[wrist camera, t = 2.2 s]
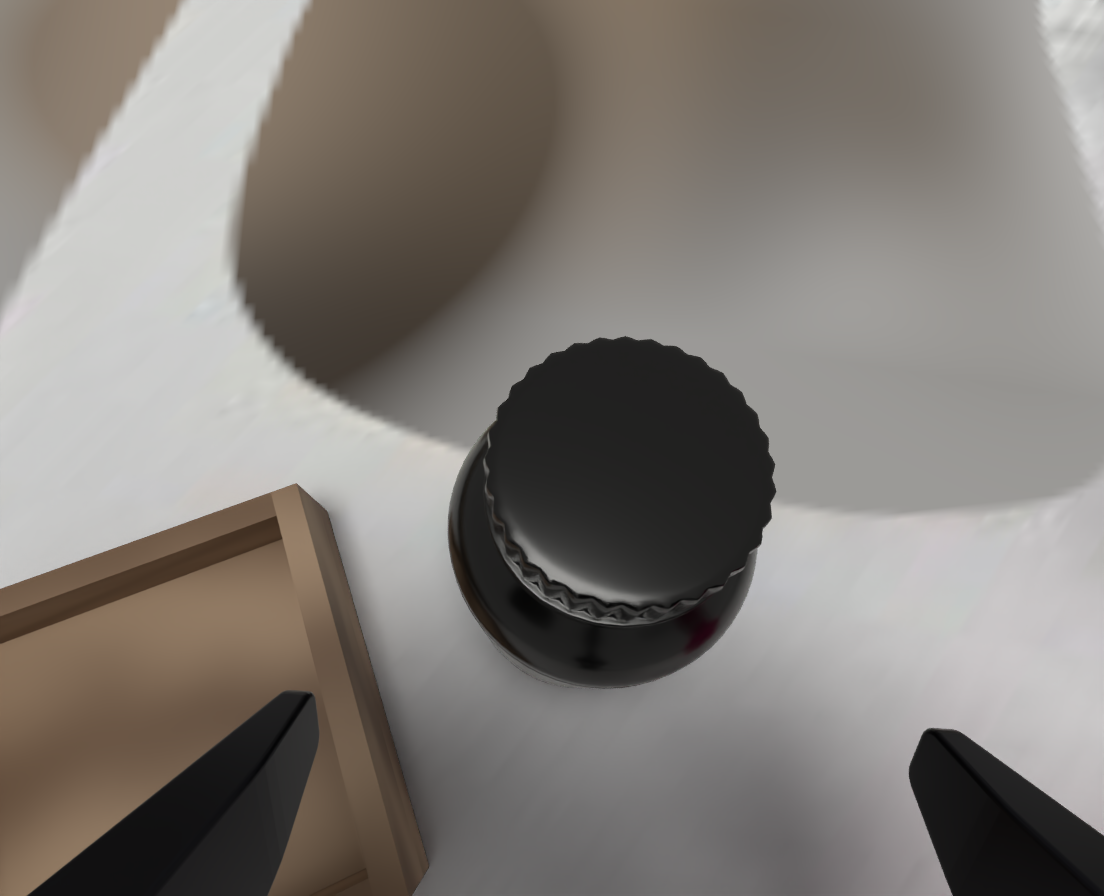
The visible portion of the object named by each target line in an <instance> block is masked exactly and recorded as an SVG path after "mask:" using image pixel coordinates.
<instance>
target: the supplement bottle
mask: <svg viewBox="0 0 1104 896" xmlns="http://www.w3.org/2000/svg"><path fill="white" fill-rule="evenodd" d="M768 448H769V439H768V437H767V435H766V434H765V433H764V432H763V431H762V429H761V428H760V426H759V419H758V415H757V413H756V412H755V411H754V410H753V409H752V408H750V407H749V406H748V405H747V404H746V401H745V398H744V396H743V393H742V392H741V391H740V390H738V389H737V388H735V387H733V386H732V385H730V383H729V382H728V380H727V378H726V377H725V375H724V374H723V373H722V372H720V371H718V370H715V369H712V368H710V367H709V366H708V365H707V363H706V362H705V361H704V360H703V359H702V358H700V357H697V356H692V355H688V354H686V353H685V352H684V351H683V350H681V349H680V348H678V347H676V346H663V345H661V344H660V343H658V342H656V341H654V340H652V339H649V340H639V341H638V340H635V339H632V338H630V337H626V336H625V337H620V338H617V339H614V340H611V339H606V338H598V339H595V340H593V341H591V342H590V343H574V344H573V345H572V346H570V347H569V348H568V349H566V350H565V351H562V352H556V353H551V354H550V355H549V356H548V357H547V358H546V360H545V361H544V362H543V363H542V364H539V365H536V366H533V367H531V368H529V370H528V372H527V374H526V376H525V378H524V379H523V380H521V381H520V382H517V383H516V384H514V385H513V386H512V387H511V390H510V393H509V398H508V399H507V400H506V401H505V402H503V403H502V404H501V405H500V406H499V407H498V409H497V415H496V421H494V422H493V423H492V424H491V425H490V426H489V427H488V428H487V430H485V432H484V433H483V434H482V435H481V436H480V437H479V439H478V440H477V442H476V443H475V444H474V446H473V447H472V448H471V450H470V452H469V454H468V455H467V457H466V459H465V460H464V463H463V465H462V467H461V469H460V471H459V474H458V476H457V479H456V482H455V485H454V488H453V492H452V496H451V500H450V506H449V514H448V543H449V551H450V557H451V562H452V567H453V570H454V574H455V577H456V581H457V583H458V586H459V588H460V591H461V593H462V596H463V598H464V600H465V602H466V604H467V606H468V607H469V609H470V611H471V613H472V614H473V616H474V617H475V619H476V620H477V622H478V623H479V625H480V626H481V628H482V629H483V630H484V632H485V633H486V635H487V636H488V637H489V639H490V640H491V641H492V643H493V644H494V645H495V647H496V648H497V649H498V650H499V651H500V653H501V654H502V655H503V656H504V657H505V658H506V659H507V660H508V661H510V662H511V663H512V664H513V665H514V666H516V667H517V668H518V669H520V670H522V671H523V672H525V673H526V674H528V675H530V676H532V677H534V678H536V679H538V680H541V681H543V682H546V683H549V684H553V685H556V686H562V687H568V688H598V689H605V688H622V687H629V686H635V685H640V684H644V683H647V682H651V681H654V680H657V679H660V678H662V677H665V676H667V675H670V674H672V673H674V672H676V671H678V670H680V669H682V668H684V667H686V666H687V665H689V664H690V663H692V662H693V661H695V660H696V659H698V658H699V657H700V656H702V655H703V654H704V653H705V652H706V651H708V650H709V649H710V648H711V647H712V646H713V645H714V644H715V643H716V642H717V641H718V640H719V639H720V638H721V637H722V636H723V634H724V633H725V632H726V630H727V629H728V628H729V627H730V625H731V624H732V622H733V621H734V619H735V617H736V616H737V614H738V613H739V611H740V609H741V607H742V605H743V602H744V600H745V598H746V596H747V594H748V591H749V588H750V585H751V582H752V578H753V574H754V570H755V565H756V557H757V548H758V547H759V546H760V545H761V542H762V531H763V528H764V527H766V525H767V524H768V523H769V522H770V520H771V519H772V515H771V505H770V503H771V501H772V499H773V498H774V496H775V493H776V488H775V484H774V483H773V479H772V475H773V472H774V468H775V463H774V461H773V459H772V457H771V456H770V454H769V452H768Z"/></svg>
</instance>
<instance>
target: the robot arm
mask: <svg viewBox="0 0 1104 896" xmlns="http://www.w3.org/2000/svg"><path fill="white" fill-rule="evenodd" d="M319 734H320V733H319V723H318V715H317V707H316V699H315V696H314V694H313V693H312V692H310V691H300V690H286V691H283V692H281V693H280V694H278V695H277V696H276V697H275V698H273V699H272V700H271V701H270V702H268V703H267V704H266V705H265V706H263V707H262V708H261V709H260V710H258V711H257V712H256V713H255V714H253V715H252V716H251V717H250V718H248V719H247V720H246V721H245V722H243V723H242V724H241V725H240V726H238V727H237V728H236V729H235V730H233V731H232V732H231V733H230V734H228V735H227V736H226V737H225V738H223V739H222V740H221V741H220V742H218V743H217V744H216V745H215V746H213V747H212V748H211V749H210V750H208V751H207V752H206V753H205V754H203V755H202V756H201V757H200V758H198V759H197V760H196V761H195V762H193V763H192V764H191V765H190V766H188V767H187V768H186V769H184V770H183V771H182V772H181V773H179V774H178V775H177V776H176V777H174V778H173V779H172V780H171V781H169V782H168V783H167V784H166V785H164V786H163V787H162V788H161V789H159V790H158V791H157V792H156V793H154V794H153V795H152V796H151V797H149V798H148V799H147V800H146V801H144V802H143V803H142V804H141V805H139V806H138V807H137V808H136V809H134V810H133V811H132V812H131V813H129V814H128V815H127V816H126V817H124V818H123V819H122V820H121V821H119V822H118V823H117V824H116V825H114V826H113V827H112V828H111V829H109V830H108V831H107V832H106V833H104V834H103V835H102V836H101V837H99V838H98V839H97V840H96V841H94V842H93V843H92V844H91V845H89V846H88V847H87V848H86V849H84V850H83V851H82V852H81V853H79V854H78V855H77V856H76V857H74V858H73V859H72V860H71V861H69V862H68V863H67V864H66V865H64V866H63V867H62V868H61V869H59V870H58V871H57V872H56V873H54V874H53V875H52V876H51V877H49V878H48V879H47V880H46V881H44V882H43V883H42V884H40V885H39V886H38V887H37V888H35V889H34V890H33V891H32V892H30V893H29V894H28V895H27V896H268V894H269V891H270V889H271V886H272V884H273V882H274V879H275V877H276V874H277V872H278V869H279V867H280V864H281V862H282V859H283V856H284V853H285V850H286V847H287V844H288V841H289V838H290V834H291V831H292V828H293V825H294V822H295V819H296V815H297V812H298V809H299V806H300V803H301V799H302V796H303V793H304V790H305V787H306V784H307V780H308V777H309V774H310V771H311V768H312V765H313V761H314V758H315V755H316V752H317V748H318V744H319ZM909 779H910V784H911V787H912V790H913V792H914V795H915V798H916V800H917V803H918V806H919V808H920V811H921V814H922V816H923V819H924V822H925V824H926V827H927V830H928V832H929V835H930V838H931V840H932V843H933V846H934V848H935V851H936V854H937V856H938V859H939V862H940V864H941V867H942V870H943V872H944V875H945V878H946V880H947V883H948V885H949V888H950V890H951V893H952V895H953V896H1104V835H1102V834H1101V833H1099V832H1098V831H1097V830H1095V829H1094V828H1093V827H1091V826H1090V825H1088V824H1087V823H1086V822H1084V821H1083V820H1081V819H1080V818H1079V817H1077V816H1076V815H1075V814H1073V813H1072V812H1070V811H1069V810H1068V809H1066V808H1065V807H1063V806H1062V805H1061V804H1059V803H1058V802H1057V801H1055V800H1054V799H1052V798H1051V797H1050V796H1048V795H1047V794H1046V793H1044V792H1043V791H1041V790H1040V789H1039V788H1037V787H1036V786H1034V785H1033V784H1032V783H1030V782H1029V781H1028V780H1026V779H1025V778H1023V777H1022V776H1021V775H1019V774H1018V773H1017V772H1015V771H1014V770H1012V769H1011V768H1010V767H1008V766H1007V765H1005V764H1004V763H1003V762H1001V761H1000V760H999V759H997V758H996V757H994V756H993V755H992V754H990V753H989V752H988V751H986V750H985V749H983V748H982V747H981V746H979V745H978V744H976V743H975V742H974V741H972V740H971V739H970V738H968V737H967V736H965V735H964V734H962V733H961V732H959V731H957V730H953V729H940V728H929V729H927V730H926V731H924V732H923V734H922V736H921V739H920V741H919V744H918V746H917V748H916V751H915V753H914V756H913V758H912V761H911V763H910V766H909Z"/></svg>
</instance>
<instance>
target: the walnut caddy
mask: <svg viewBox="0 0 1104 896" xmlns="http://www.w3.org/2000/svg"><path fill="white" fill-rule="evenodd" d="M286 690H300V691H310V692H312V693H313V694H314V696H315V699H316V707H317V715H318V723H319V733H320V734H319V744H318V748H317V752H316V755H315V758H314V761H313V765H312V768H311V771H310V774H309V777H308V780H307V784H306V787H305V790H304V793H303V796H302V799H301V803H300V806H299V809H298V812H297V815H296V819H295V822H294V825H293V828H292V831H291V834H290V838H289V841H288V844H287V847H286V850H285V853H284V856H283V859H282V862H281V864H280V867H279V869H278V872H277V874H276V877H275V879H274V882H273V884H272V886H271V889H270V891H269V894H268V896H412V894H413V893H414V891H415V889H416V888H417V886H418V884H419V883H420V881H421V879H422V878H423V876H424V874H425V873H426V871H427V869H428V868H429V864H428V861H427V857H426V854H425V850H424V847H423V843H422V840H421V836H420V833H419V829H418V826H417V822H416V819H415V815H414V812H413V808H412V805H411V802H410V798H409V795H408V791H407V788H406V784H405V781H404V777H403V774H402V770H401V767H400V763H399V760H398V756H397V753H396V749H395V746H394V742H393V739H392V735H391V732H390V728H389V725H388V721H387V718H386V714H385V711H384V708H383V704H382V701H381V697H380V694H379V690H378V687H377V683H376V680H375V676H374V673H373V669H372V666H371V662H370V659H369V655H368V652H367V648H366V645H365V641H364V638H363V634H362V631H361V627H360V624H359V620H358V617H357V614H356V610H355V607H354V603H353V600H352V596H351V593H350V589H349V586H348V582H347V579H346V575H345V572H344V568H343V565H342V561H341V558H340V554H339V551H338V547H337V544H336V540H335V537H334V533H333V530H332V526H331V523H330V520H329V516H328V513H327V511H326V510H325V509H324V508H323V507H322V506H321V505H320V504H319V503H318V502H317V501H315V500H314V499H313V498H312V497H311V496H310V495H309V494H308V493H307V492H306V491H304V490H303V489H302V488H301V487H300V486H299V485H298V484H297V483H296V484H293V485H290V486H287V487H285V488H282V489H279V490H276V491H273V492H271V493H268V494H265V495H262V496H259V497H257V498H254V499H251V500H248V501H245V502H243V503H240V504H237V505H234V506H231V507H229V508H226V509H223V510H220V511H217V512H215V513H212V514H209V515H206V516H203V517H201V518H198V519H195V520H192V521H189V522H187V523H184V524H181V525H178V526H175V527H173V528H170V529H167V530H164V531H161V532H159V533H156V534H153V535H150V536H147V537H145V538H142V539H139V540H136V541H133V542H131V543H128V544H125V545H122V546H119V547H117V548H114V549H111V550H108V551H105V552H103V553H100V554H97V555H94V556H91V557H89V558H86V559H83V560H80V561H77V562H75V563H72V564H69V565H66V566H63V567H61V568H58V569H55V570H52V571H49V572H47V573H44V574H41V575H38V576H35V577H33V578H30V579H27V580H24V581H21V582H19V583H16V584H13V585H10V586H7V587H5V588H2V589H0V896H27V895H28V894H29V893H30V892H32V891H33V890H34V889H35V888H37V887H38V886H39V885H40V884H42V883H43V882H44V881H46V880H47V879H48V878H49V877H51V876H52V875H53V874H54V873H56V872H57V871H58V870H59V869H61V868H62V867H63V866H64V865H66V864H67V863H68V862H69V861H71V860H72V859H73V858H74V857H76V856H77V855H78V854H79V853H81V852H82V851H83V850H84V849H86V848H87V847H88V846H89V845H91V844H92V843H93V842H94V841H96V840H97V839H98V838H99V837H101V836H102V835H103V834H104V833H106V832H107V831H108V830H109V829H111V828H112V827H113V826H114V825H116V824H117V823H118V822H119V821H121V820H122V819H123V818H124V817H126V816H127V815H128V814H129V813H131V812H132V811H133V810H134V809H136V808H137V807H138V806H139V805H141V804H142V803H143V802H144V801H146V800H147V799H148V798H149V797H151V796H152V795H153V794H154V793H156V792H157V791H158V790H159V789H161V788H162V787H163V786H164V785H166V784H167V783H168V782H169V781H171V780H172V779H173V778H174V777H176V776H177V775H178V774H179V773H181V772H182V771H183V770H184V769H186V768H187V767H188V766H190V765H191V764H192V763H193V762H195V761H196V760H197V759H198V758H200V757H201V756H202V755H203V754H205V753H206V752H207V751H208V750H210V749H211V748H212V747H213V746H215V745H216V744H217V743H218V742H220V741H221V740H222V739H223V738H225V737H226V736H227V735H228V734H230V733H231V732H232V731H233V730H235V729H236V728H237V727H238V726H240V725H241V724H242V723H243V722H245V721H246V720H247V719H248V718H250V717H251V716H252V715H253V714H255V713H256V712H257V711H258V710H260V709H261V708H262V707H263V706H265V705H266V704H267V703H268V702H270V701H271V700H272V699H273V698H275V697H276V696H277V695H278V694H280V693H281V692H283V691H286Z"/></svg>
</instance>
